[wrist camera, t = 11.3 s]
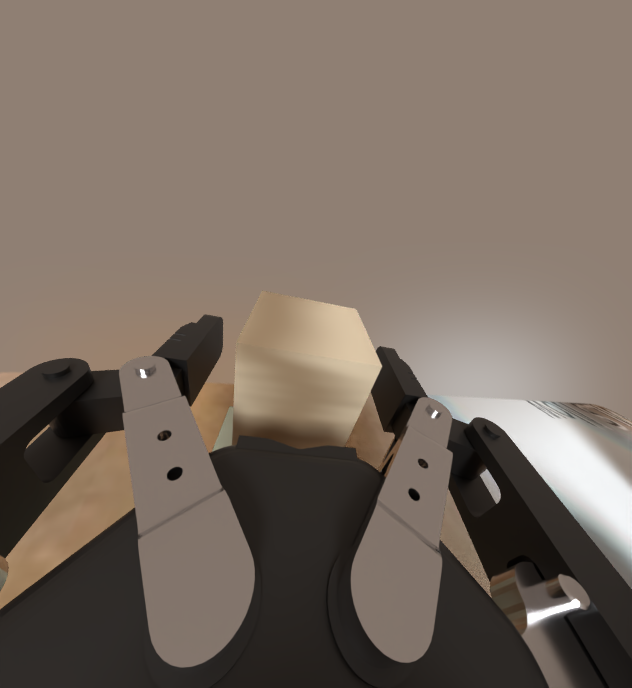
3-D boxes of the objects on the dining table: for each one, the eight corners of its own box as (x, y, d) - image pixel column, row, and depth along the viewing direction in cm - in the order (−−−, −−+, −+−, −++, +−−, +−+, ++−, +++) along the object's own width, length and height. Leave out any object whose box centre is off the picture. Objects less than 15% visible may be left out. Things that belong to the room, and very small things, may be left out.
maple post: (313, 437, 16) (356, 309, 11) (314, 510, 12) (382, 366, 7) (248, 430, 15) (262, 290, 10) (229, 504, 12) (236, 342, 7)
